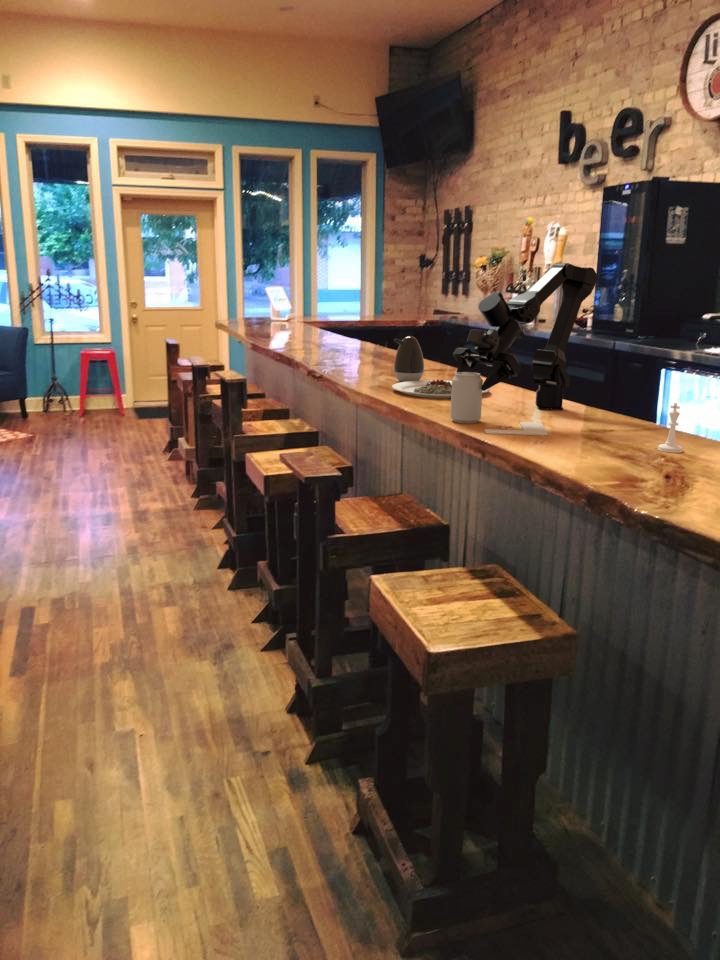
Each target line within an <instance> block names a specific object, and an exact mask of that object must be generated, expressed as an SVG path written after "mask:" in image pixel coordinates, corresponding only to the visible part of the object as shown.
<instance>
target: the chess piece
mask: <svg viewBox="0 0 720 960" xmlns="http://www.w3.org/2000/svg"><path fill="white" fill-rule="evenodd" d="M677 405H678V403H677V402H674V404H673V405H670V409H673V410H671V411H669V418H670V421H669V422H667V425H669V427H670V428H669V431H668V435H667V439H666V441H665V442H664V443H662V444H661V443H660V444H659V445H658V446H657V450H658V451H661V452H663V453H670V454H671V453H672V454H673V453H674V454H677V453H682V452H683V451H684V450H683V446H681V445H679V444H678V442H676V426H679V425H680V424H679V423H678V422H677V421H678V418H679V416H680V414H681V413H680V412H679V411H677V409H678V410H679V409H680V407H681V406H677Z"/></svg>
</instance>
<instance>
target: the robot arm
mask: <svg viewBox="0 0 720 960" xmlns="http://www.w3.org/2000/svg"><path fill="white" fill-rule="evenodd" d="M597 282H598V273H597V272H596V271H595V268H593V267H589V266H587V267H586V266H585V267H582V266H577V265H573V264H572V263H568V262H563V263H562V262H556V263H554V264H552V265H551V266H550V268H549V270H548V271H547V272H545V274H544V275H543V276H541V278H540V279H539V280H537V281H536V282H535V284H533V285H532V286H531V288H529V289H528V290H527V291H525V292H524V293H521V294H517V295H516V296H514V297H512V298H511V299H509V300H508V301H506V300H505V298H504V295H503V294H502V292H501V291H494V292H493V293H492V294H490V295H488V296H487V297H485V298H483V299H482V300H481V301H480V302H479V304H478V310H479V312H480V313H481V315H482V317H484V319H485V321H486V322H487V324H488V325H489V326H490V327H491V328H494V329H488V331H487V330H483V329H470V331H469V333H468V335H467V336H468V337H467V339H466V343H468V344H471V345H472V346H474V348H473V349H474V351H475V352H476V353H477V354H474V353H473V352H472V350H471V349H470V348H467V347H466V348H464V347H456V348H455V350H454V351H453V352H452V353H451V354H452V357H453V358H454V360H455V361H456V362H457V367H456V372H455V373H457V372H474V371H473V370H474V369H476V368H477V366H478V364H479V365H486V366H487V367H492V368H491V370H490V371H489V373H488V375H487V376H486V378H485V379H484V380H483V385H482V387H481V389H482V391H485V390H487V389H489V388H490V389H491V388H492V387H494V386H496V385H498V384H499V383H502V382H504V381H506V380H508V379H512V378H513V377H515V378H516V377H518V376H519V374H520V372H521V370H522V365H521V364H520V362H519V361H518V359H517V358H516V356H515V354H514V353H511V352H512V350H511V349H510V347H511V346H512V344H513V343H514V342H515V341H516V339H525V333H524V327H521V326H520V324H522V323H523V324H531V323H533V321H534V320H536V318H537V317H538V316H539V313H540V312H541V305H542V304H543V303H544V302H546V300H547V299H548V298H549V297H551V296H552V294H553V293H554V292H555V291H557V290H558V288H559V287H560V286H561V288H562V292H563V298H562V302H561V303H560V307H559V309H558V312H557V316H556V319H555V321H554V324H553V327H552V330H551V332H550V334H549V338H548V341H547V344H546V346H545V347H543V349H536V351H535V354H534V357H533V360H532V361H531V368H530V369H531V375H532V376H531V377H532V382H533V384H534V385H538V389H536V391H535V402H534V403H535V406H536V407H537V408H538V410H558V411H561V410H562V411H563V410H564V407H563V401H564V400H563V398H564V388H565V389H566V388H569V387H570V384H571V381H572V378H571V376H570V375H569V373H568V372H567V370H566V366H567V359H566V358H567V357H566V354H565V351H566V348H567V345H568V342H569V339H570V337H571V334H572V331H573V329H574V325H575V323H576V320H577V317H578V315H579V311H580V309H581V306H582V303H583V301H585V300H586V299H587V298H588V297H589V296H590V295H591V294H592V293H593V290H594V288H595V287H596V285H597Z"/></svg>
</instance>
